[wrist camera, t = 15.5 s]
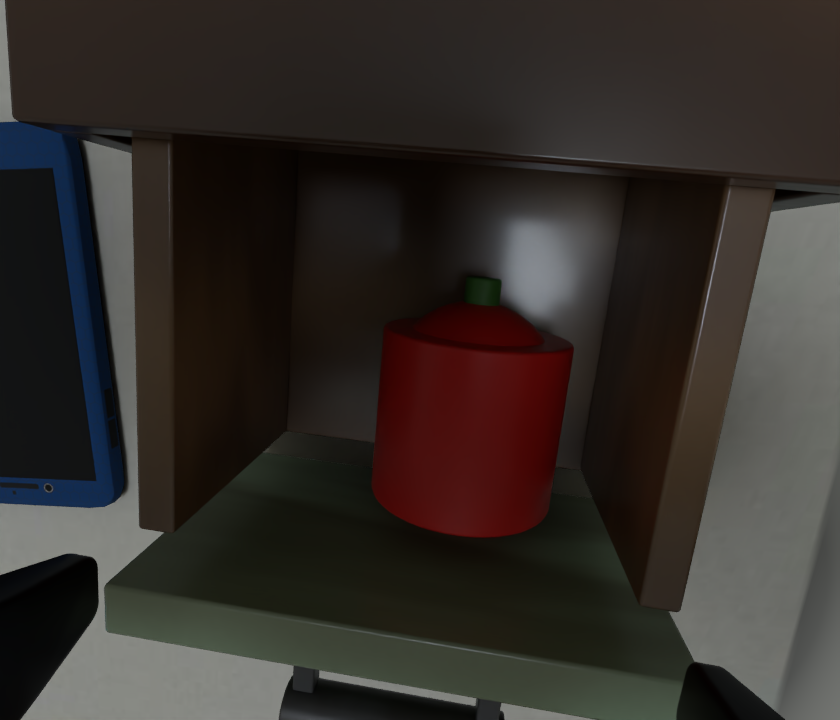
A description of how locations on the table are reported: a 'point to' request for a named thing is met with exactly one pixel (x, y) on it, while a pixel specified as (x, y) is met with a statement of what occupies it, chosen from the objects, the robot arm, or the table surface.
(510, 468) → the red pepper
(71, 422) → the cell phone
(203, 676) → the table surface
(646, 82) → the cabinet
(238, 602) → the drawer
